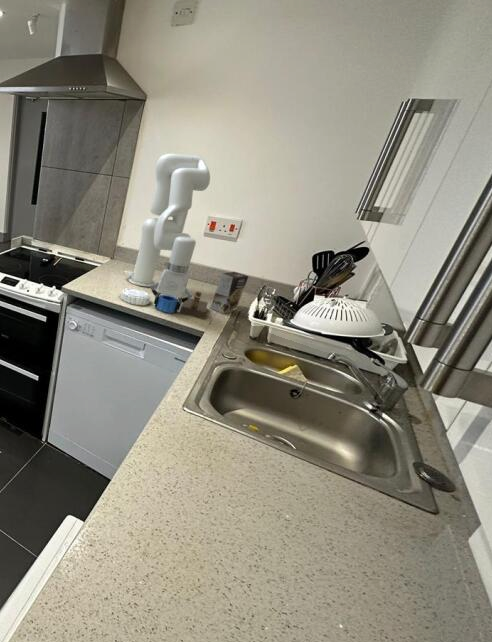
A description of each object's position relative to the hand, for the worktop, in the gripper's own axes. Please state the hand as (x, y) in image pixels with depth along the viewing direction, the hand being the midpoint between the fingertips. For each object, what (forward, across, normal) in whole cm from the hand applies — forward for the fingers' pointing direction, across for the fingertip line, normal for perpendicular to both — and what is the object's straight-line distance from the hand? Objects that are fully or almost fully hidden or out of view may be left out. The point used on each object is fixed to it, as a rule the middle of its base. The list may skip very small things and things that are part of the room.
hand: (165, 308), depth 163 cm
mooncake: (+1, -13, +2) cm, 13 cm away
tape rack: (+1, +10, +7) cm, 12 cm away
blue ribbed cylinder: (+1, 0, 0) cm, 1 cm away
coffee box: (+1, +21, +18) cm, 28 cm away
